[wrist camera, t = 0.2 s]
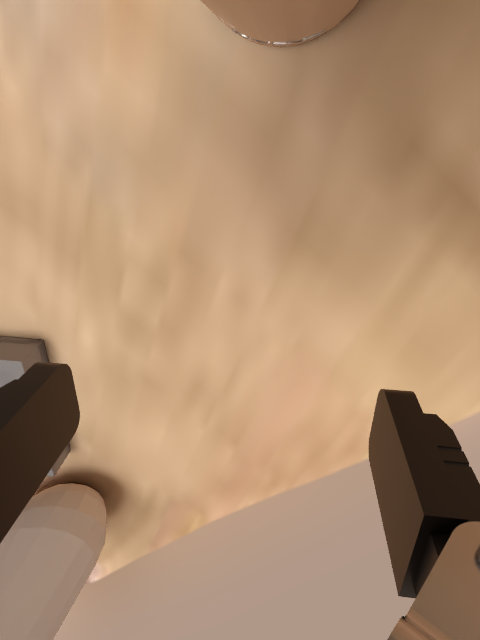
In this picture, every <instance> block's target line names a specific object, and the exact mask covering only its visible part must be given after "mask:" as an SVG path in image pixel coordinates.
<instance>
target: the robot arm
mask: <svg viewBox="0 0 480 640" xmlns="http://www.w3.org/2000/svg"><path fill="white" fill-rule="evenodd" d="M201 1H202V2H203V3H204V4H205V5H206V6H207V7H208V8H209V9H210V10H211V11H212V12H213V13H214V14H215V15H216V16H217V17H218V18H219V19H220V20H222V21H223V22H224V23H225V24H226V25H227V26H228V27H230V28H231V29H232V30H233V31H234V32H236V33H237V34H239V35H241V36H242V37H244V38H246V39H249V40H251V41H253V42H256V43H258V44H262V45H269V46H275V47H283V46H293V45H299V44H302V43H305V42H307V41H310V40H313V39H316V38H318V37H319V36H321V35H323V34H324V33H326V32H327V31H329V30H330V29H332V28H334V27H335V26H336V25H337V24H338V23H339V22H340V21H341V20H342V19H343V18H344V17H345V16H347V15H348V14H349V13H350V12H351V11H352V9H353V8H354V7H355V5H356V4H357V3H358V1H359V0H201ZM79 418H80V411H79V405H78V400H77V396H76V391H75V386H74V381H73V376H72V372H71V369H70V367H69V366H68V365H67V364H59V363H46V362H37V363H35V364H33V365H32V366H31V367H30V368H29V369H28V370H27V371H26V372H25V373H24V374H23V375H22V376H21V377H20V378H19V379H15V380H13V381H11V382H9V383H7V384H6V385H4V386H2V387H0V543H1V542H2V540H3V539H4V538H5V536H6V535H7V533H8V532H9V530H10V529H11V527H12V526H13V524H14V523H15V521H16V520H17V518H18V517H19V515H20V514H21V512H22V511H23V509H24V508H25V507H26V505H27V504H28V502H29V501H30V499H31V498H32V496H33V495H34V493H35V492H36V490H37V489H38V487H39V486H40V484H41V483H42V481H43V480H44V478H45V477H46V475H47V474H48V473H49V471H50V470H51V468H52V467H53V465H54V464H55V462H56V461H57V459H58V458H59V456H60V455H61V453H62V452H63V450H64V449H65V447H66V446H67V444H68V443H69V442H70V440H71V439H72V437H73V436H74V434H75V432H76V430H77V427H78V424H79ZM369 461H370V466H371V471H372V475H373V480H374V484H375V489H376V494H377V498H378V503H379V508H380V512H381V517H382V522H383V526H384V531H385V535H386V540H387V544H388V549H389V554H390V558H391V563H392V568H393V573H394V577H395V582H396V586H397V591H398V596H402V597H410V598H416V599H415V601H414V603H413V604H412V606H411V608H410V610H409V612H408V613H407V615H406V616H405V617H404V616H402V617H401V618H400V620H399V621H398V623H397V624H396V626H395V627H394V629H393V631H392V632H391V634H390V636H389V638H388V640H480V484H479V482H478V480H477V478H476V476H475V474H474V472H473V470H472V468H471V467H469V462H468V460H467V458H466V456H465V454H464V452H462V451H461V446H460V444H459V442H458V440H457V438H456V436H455V434H454V432H453V430H452V429H451V428H450V427H449V426H448V425H447V424H446V423H445V422H444V421H443V420H441V419H440V418H439V417H438V416H437V415H436V414H425V413H423V411H422V409H421V407H420V404H419V402H418V400H417V397H416V395H415V393H414V392H412V391H399V390H386V389H381V390H380V391H379V394H378V398H377V403H376V407H375V412H374V417H373V422H372V427H371V432H370V438H369Z"/></svg>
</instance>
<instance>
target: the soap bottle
mask: <svg viewBox="0 0 480 640" xmlns="http://www.w3.org/2000/svg"><path fill="white" fill-rule="evenodd" d="M106 523H107V518H106V508H105V504H104V500H103V498H102V497H101V496H100V494H99V493H98V492H97V491H96V490H94V489H92V488H90V487H88V486H86V485H80V484H75V483H69V484H58V485H55V486H52V487H50V488H47V489H45V490H43V491H41V492H40V493H38V494H36V495H35V496H33V497H32V498H31V499H30V501H29V502H28V504H27V505H26V507H25V508H24V509H23V511H22V512H21V514H20V515H19V517H18V518H17V520H16V521H15V523H14V524H13V526H12V527H11V529H10V530H9V532H8V533H7V535H6V536H5V538H4V539H3V540H2V542H1V543H0V640H53V639H54V637H55V635H56V633H57V632H58V630H59V628H60V626H61V625H62V623H63V621H64V619H65V618H66V616H67V614H68V612H69V611H70V609H71V607H72V605H73V604H74V602H75V600H76V598H77V597H78V595H79V593H80V591H81V589H82V588H83V586H84V584H85V583H86V581H87V579H88V577H89V575H90V574H91V572H92V570H93V568H94V567H95V565H96V562H97V560H98V558H99V555H100V553H101V551H102V548H103V546H104V543H105V533H106Z"/></svg>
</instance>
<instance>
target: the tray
mask: <svg viewBox="0 0 480 640" xmlns="http://www.w3.org/2000/svg"><path fill="white" fill-rule="evenodd" d="M37 362H46V363H49V360H48V356H47V352H46V348H45V344H44V340H39V339H28V338H16V337H4V336H0V387H2V386H4V385H6V384H7V383H9V382H11V381H13V380H15V379H19V378H20V377H21V376H22V375H23V374H24V373H25V372H26V371H27V370H28V369H29V368H30V367H31V366H32V365H33V364H35V363H37ZM69 452H70V446H69V443H68V444H67V446H66V447H65V449H64V450H63V452H62V453H61V455H60V456H59V458H58V459H57V461H56V462H55V464H54V465H53V467H52V468H51V470H50V471H49V473H48V474H47V475H46V476H52V477H54V476H55V474H56V473H57V471H58V470H59V468H60V466H61V465H62V463H63V461H64V460H65V458H66V457H67V455H68V453H69Z"/></svg>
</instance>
